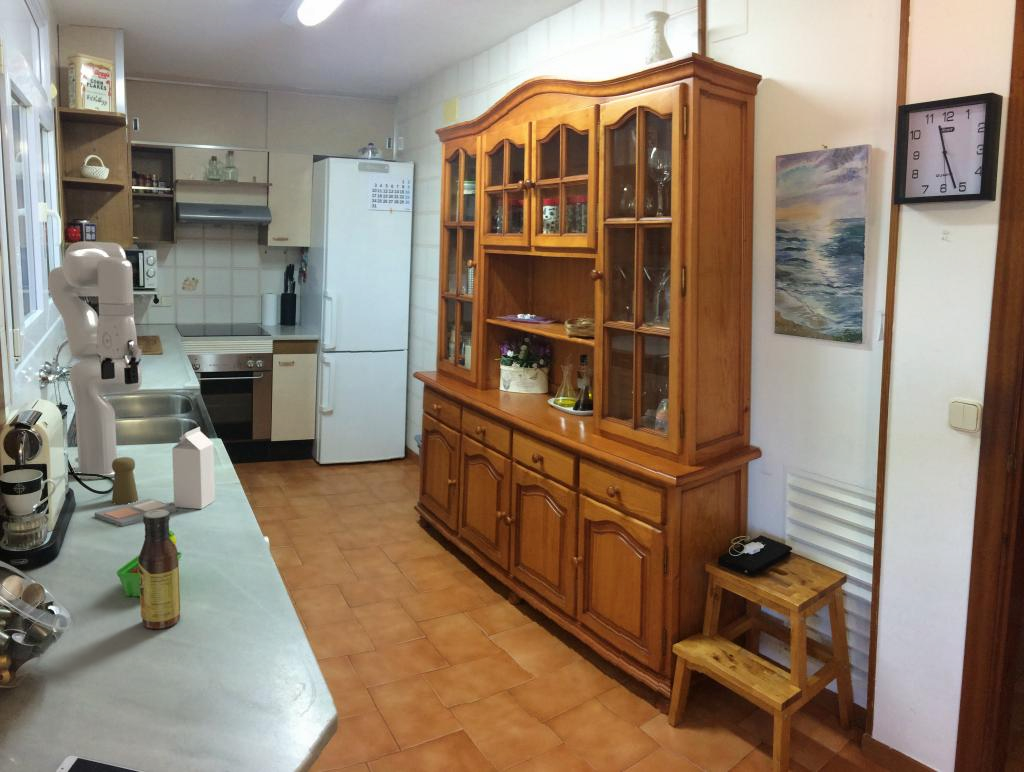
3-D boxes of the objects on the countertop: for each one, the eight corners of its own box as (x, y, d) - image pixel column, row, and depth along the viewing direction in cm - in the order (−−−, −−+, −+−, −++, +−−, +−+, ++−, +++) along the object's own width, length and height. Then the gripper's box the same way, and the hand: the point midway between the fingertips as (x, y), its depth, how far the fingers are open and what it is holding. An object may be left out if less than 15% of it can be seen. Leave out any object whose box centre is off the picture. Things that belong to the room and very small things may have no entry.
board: (94, 516, 188) (94, 511, 188) (149, 502, 200) (149, 497, 199) (122, 526, 182) (122, 521, 182) (176, 511, 194) (176, 506, 194)
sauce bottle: (149, 614, 140) (144, 505, 137) (186, 614, 141) (182, 505, 138) (135, 632, 134) (130, 518, 131) (173, 632, 134) (169, 518, 131)
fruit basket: (145, 574, 157) (143, 519, 155) (190, 576, 157) (188, 521, 155) (115, 599, 146) (112, 540, 144) (163, 601, 146) (161, 542, 144)
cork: (144, 499, 202) (142, 456, 200) (125, 506, 196) (123, 462, 194) (125, 496, 204) (123, 454, 202) (106, 502, 198) (103, 459, 196)
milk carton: (215, 501, 203) (213, 427, 199) (201, 509, 196) (199, 433, 192) (188, 499, 203) (186, 425, 200) (174, 507, 196) (171, 432, 193)
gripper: (81, 308, 193) (84, 378, 196) (123, 314, 184) (126, 387, 187) (110, 307, 200) (113, 375, 203) (152, 312, 191) (155, 383, 194)
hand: (119, 381), depth 195 cm, fingers open, 9 cm apart
